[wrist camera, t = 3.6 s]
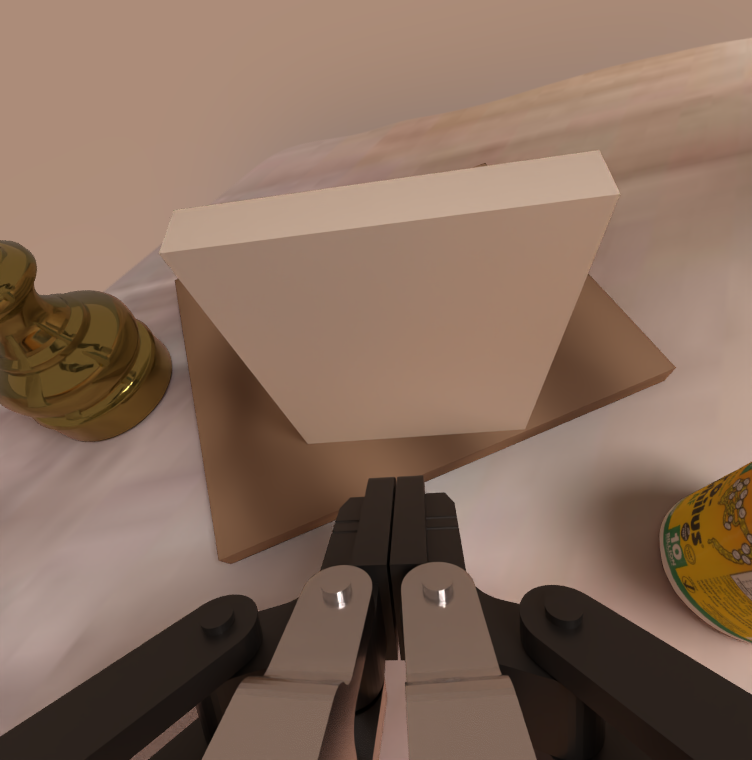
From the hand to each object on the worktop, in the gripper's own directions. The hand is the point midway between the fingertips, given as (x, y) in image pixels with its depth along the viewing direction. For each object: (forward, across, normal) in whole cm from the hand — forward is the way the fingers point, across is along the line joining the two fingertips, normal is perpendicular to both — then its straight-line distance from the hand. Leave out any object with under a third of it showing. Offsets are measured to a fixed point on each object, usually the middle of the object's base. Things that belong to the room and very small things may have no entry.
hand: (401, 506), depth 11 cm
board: (+14, -1, +3) cm, 14 cm away
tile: (+8, 0, -1) cm, 8 cm away
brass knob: (+12, -17, +1) cm, 21 cm away
